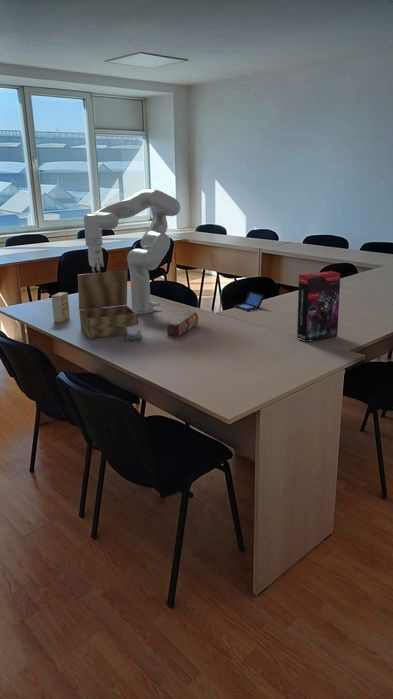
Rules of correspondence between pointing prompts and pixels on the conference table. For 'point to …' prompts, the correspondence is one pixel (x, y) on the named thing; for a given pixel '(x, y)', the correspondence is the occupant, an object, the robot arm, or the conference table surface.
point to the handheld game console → (251, 301)
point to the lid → (102, 289)
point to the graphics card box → (318, 305)
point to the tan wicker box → (107, 321)
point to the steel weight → (133, 332)
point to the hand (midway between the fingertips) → (96, 281)
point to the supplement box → (60, 307)
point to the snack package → (182, 324)
